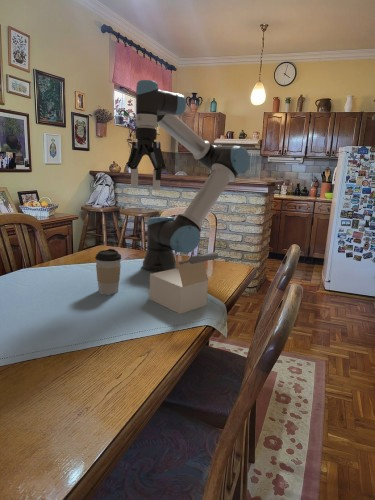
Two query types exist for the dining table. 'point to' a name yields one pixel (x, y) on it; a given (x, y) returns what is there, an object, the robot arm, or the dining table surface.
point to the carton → (177, 291)
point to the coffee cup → (108, 271)
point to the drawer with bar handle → (194, 268)
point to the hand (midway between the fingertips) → (145, 188)
